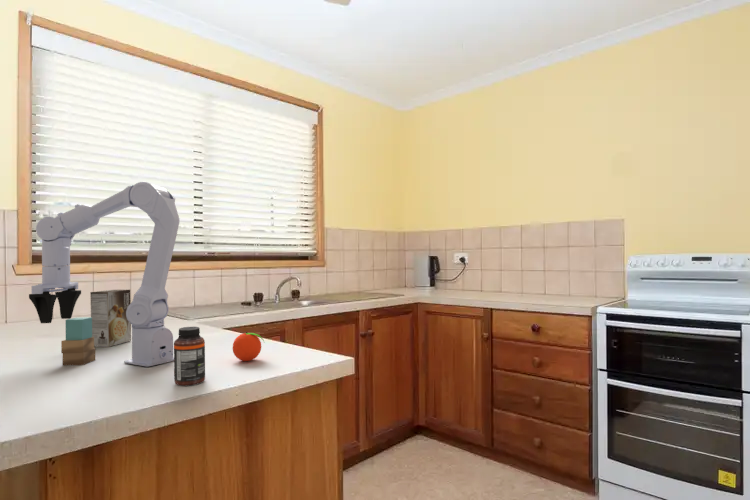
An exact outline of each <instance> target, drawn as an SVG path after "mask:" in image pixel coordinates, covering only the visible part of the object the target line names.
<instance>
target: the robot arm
mask: <svg viewBox="0 0 750 500" xmlns="http://www.w3.org/2000/svg"><path fill="white" fill-rule="evenodd" d="M130 207H131V208H132V207H133V208H138V209H139V210H141V211H142V212H144V213H145V214H147V215H148V217H149V218H150V219H151V221H152V222H153V223H154V227H153V231H152V236H151V239H150V245H149V249H148V253H147V257H146V261H145V267H144V270H143V275H142V280H141V284H140V287H139V288H138V289H137V291H135V292H134V295H133V298H132V301H130V303H131V304H130V305H129V306H128V308H127V310H126V317H127V320H128V321H129V323H130V324H131V359H126V360H124V361H123V363H124V364H129V365H135V366H141V367H145V368H146V367H148V368H149V367H154V366H156V365H161V364H165V363H169V362H174V334H173V333H172V331H171V330H170V328H167V327H166V326H165V318H166V317H167V316H168V314H169V304H168V298H169V294H168V293H167V290H166V286H167V285H166V284H167V280H168V276H169V270H170V266H171V262H172V257H173V254H174V249H175V244H176V239H177V235H178V230H179V225H180V217H179V213H178V209H177V207H176V197H175V196H174V195H173V194H172V193H171V192H170V190H168V189H167V188H166V187H164V186H158V185H155V184H151V183H149V182H147V181H139V182H137V183H135V184H134V185H133V184H132V185H128V186H126V187H125V188H124V189H123V190H121V191H119V192H117V193H115V194H113V195H111V196H109V197H106V198H105V199H103V200H101V201H99V202H97V203H96V204H94V205H89V204H85V203H83V204H81V203H77V204H75V205H74V208H72V209H70V210H68V211H65V212H59V213H57V216H55V217H54V216H49V215H48V216H44V217H43V218H41V219H40V220H38V222H37V223H36V226H35V231H36V234H37V236H38V238H40V239H41V265H42V267H41V278H42V279H41V283H38V284H36V285H31V293H30V294H29V293H28V299H29V300H30V301H31V303H32V304H33V305H34V308H35V310H36V313H37V316H38V319H39V322H40V324H51V323H52V321H53V317H54V307H55V303H56V300H57V302H58V306H59V314H60V315H59V316H60V318H61V320H62V319H63V320H67V319H72V318H73V313H74V310H75V306H76V304H77V301H78V299H79V298H80V296H81V295H82V290H81V289H79V282H78V281H71V246H72V240H73V239H74V237H75V235H77V234H79V233H82V232H83V231H85V230H88V229H91V228H93V227H95V226H97V225H98V224H99V222H100V219H102V218H103V217H106V216H108V215H111V214H114V213H116V212H120V211H121V210H124V209H127V208H130ZM51 293H54V294H51Z"/></svg>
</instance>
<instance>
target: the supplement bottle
mask: <svg viewBox="0 0 750 500" xmlns="http://www.w3.org/2000/svg"><path fill="white" fill-rule="evenodd" d="M205 345H206V344H205V339H204V337H202V336H201V330H200V327H199V326H184V327H181V328H180V327H179V328H178V338H177V339H175V340H174V341H173V358H174V361H173V372H174V374H173V376H174V377H173V378H174V384H175V385H177V386H182V387H189V386H195V385H196V386H197V385H199V384H202V383H204V381H205V380H206V346H205Z"/></svg>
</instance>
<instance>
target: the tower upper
mask: <svg viewBox="0 0 750 500" xmlns="http://www.w3.org/2000/svg"><path fill="white" fill-rule="evenodd" d="M92 349H95V346H94V337H91V338H88V339H84V340H66V339H63V340H61V353H60V354H63V353H84V352H87V351H89V350H92Z"/></svg>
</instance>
